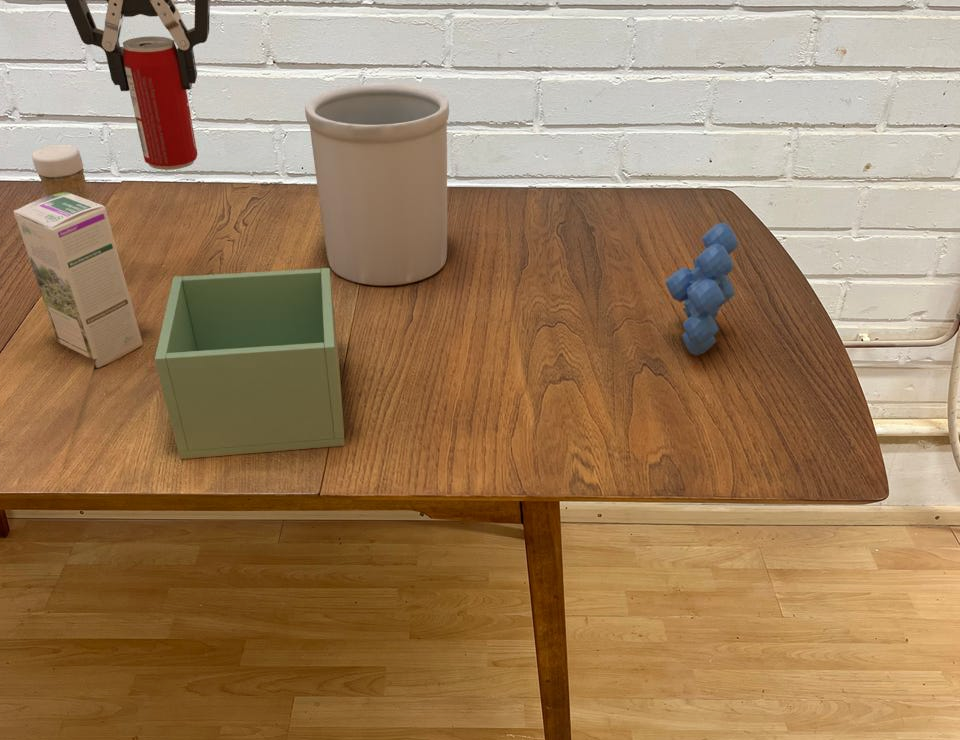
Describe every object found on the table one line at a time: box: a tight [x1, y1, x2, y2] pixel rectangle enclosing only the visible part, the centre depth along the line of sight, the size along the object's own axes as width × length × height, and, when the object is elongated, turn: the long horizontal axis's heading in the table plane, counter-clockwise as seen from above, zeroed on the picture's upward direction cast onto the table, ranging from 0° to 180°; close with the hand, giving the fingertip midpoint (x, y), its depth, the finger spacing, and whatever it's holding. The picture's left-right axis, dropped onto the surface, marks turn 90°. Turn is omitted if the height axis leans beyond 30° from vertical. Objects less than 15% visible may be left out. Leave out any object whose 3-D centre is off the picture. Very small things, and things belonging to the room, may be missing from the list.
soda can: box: [122, 35, 198, 171], centre depth 91 cm, size 6×6×12 cm
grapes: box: [665, 221, 739, 357], centre depth 86 cm, size 12×7×12 cm, turn 161°
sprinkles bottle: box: [31, 144, 92, 201], centre depth 95 cm, size 5×5×13 cm
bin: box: [154, 267, 346, 460], centre depth 77 cm, size 14×14×10 cm
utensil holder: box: [304, 82, 450, 287], centre depth 97 cm, size 15×15×18 cm
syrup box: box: [12, 192, 144, 369], centre depth 82 cm, size 6×6×14 cm
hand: (156, 87), depth 90 cm, fingers closed on soda can, 5 cm apart
